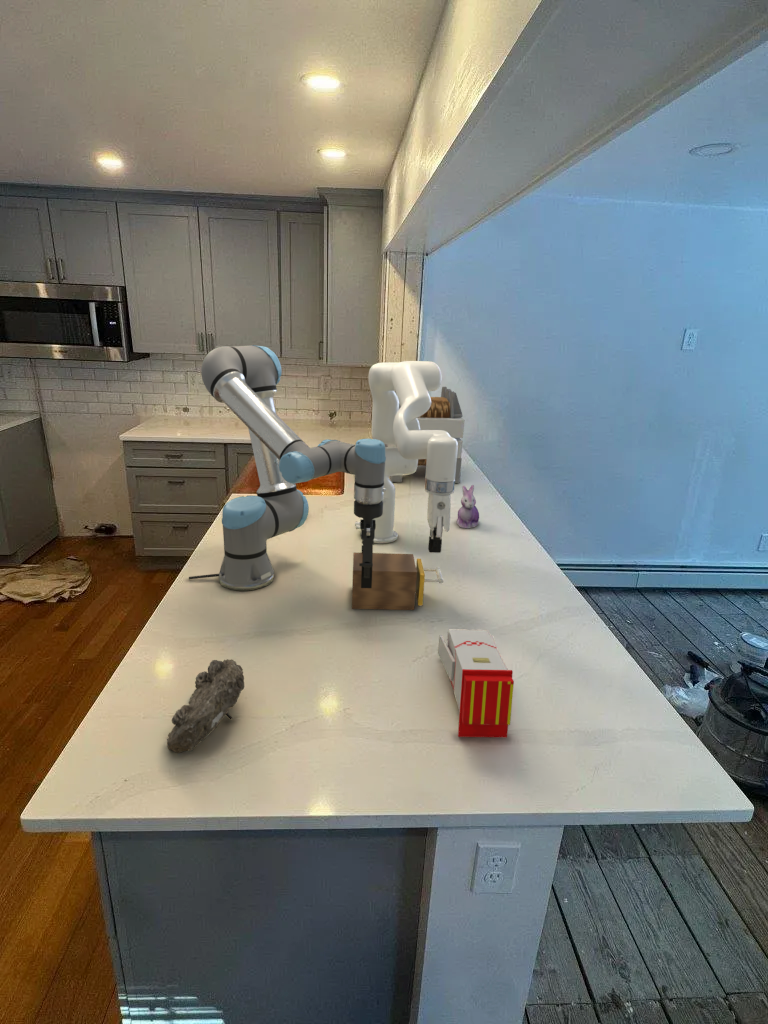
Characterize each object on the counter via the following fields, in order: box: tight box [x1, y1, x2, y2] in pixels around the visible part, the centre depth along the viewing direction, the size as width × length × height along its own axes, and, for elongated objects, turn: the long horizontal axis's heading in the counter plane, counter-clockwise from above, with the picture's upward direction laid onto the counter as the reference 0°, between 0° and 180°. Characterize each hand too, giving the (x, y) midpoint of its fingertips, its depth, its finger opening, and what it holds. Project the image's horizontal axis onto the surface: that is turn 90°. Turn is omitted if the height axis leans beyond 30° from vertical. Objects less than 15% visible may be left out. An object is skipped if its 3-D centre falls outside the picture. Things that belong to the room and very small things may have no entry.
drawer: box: [415, 558, 444, 607], centre depth 153 cm, size 20×10×9 cm, turn 92°
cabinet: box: [351, 552, 417, 611], centre depth 153 cm, size 16×11×11 cm
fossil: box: [166, 658, 245, 754], centre depth 106 cm, size 22×10×15 cm
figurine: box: [456, 484, 480, 529], centre depth 209 cm, size 9×10×15 cm
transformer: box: [385, 386, 465, 484], centre depth 268 cm, size 34×33×41 cm
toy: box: [437, 628, 515, 738], centre depth 117 cm, size 12×13×30 cm
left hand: (366, 577), depth 152 cm, fingers closed on cabinet, 11 cm apart
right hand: (434, 551), depth 150 cm, fingers closed
